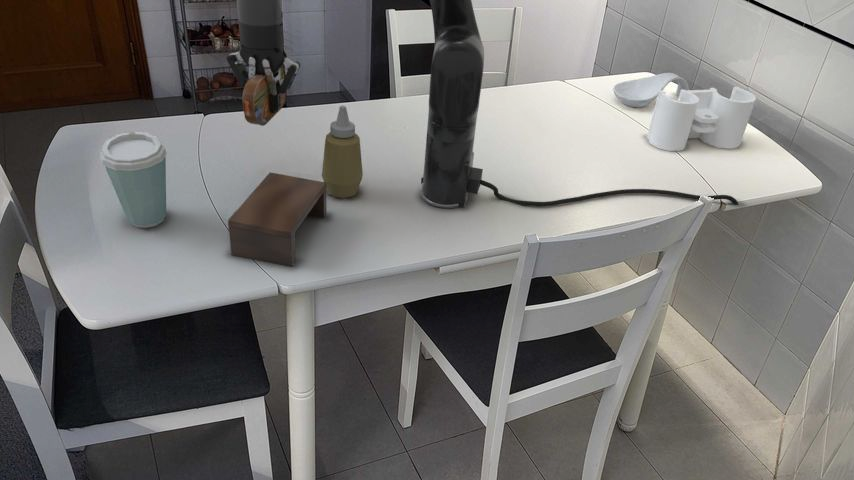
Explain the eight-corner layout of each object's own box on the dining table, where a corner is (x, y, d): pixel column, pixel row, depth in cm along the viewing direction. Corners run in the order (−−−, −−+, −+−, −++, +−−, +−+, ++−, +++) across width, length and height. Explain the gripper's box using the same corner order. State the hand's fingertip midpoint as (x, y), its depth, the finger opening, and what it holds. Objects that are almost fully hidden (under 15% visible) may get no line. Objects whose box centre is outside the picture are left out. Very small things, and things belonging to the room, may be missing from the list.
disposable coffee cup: (176, 232, 131) (164, 156, 122) (110, 237, 128) (93, 159, 119) (176, 202, 139) (165, 128, 130) (114, 206, 136) (99, 131, 127)
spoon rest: (628, 114, 194) (635, 88, 190) (602, 97, 202) (607, 71, 198) (696, 105, 204) (703, 80, 200) (668, 89, 212) (675, 64, 208)
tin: (257, 133, 133) (255, 88, 128) (241, 130, 133) (237, 85, 128) (289, 102, 145) (287, 60, 140) (273, 99, 145) (272, 57, 140)
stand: (326, 214, 141) (326, 182, 137) (292, 266, 126) (290, 232, 122) (271, 204, 142) (269, 172, 138) (231, 254, 127) (227, 220, 123)
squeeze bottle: (345, 206, 144) (346, 120, 133) (313, 192, 147) (311, 106, 136) (370, 190, 150) (373, 106, 139) (339, 177, 153) (339, 94, 142)
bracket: (662, 153, 177) (675, 105, 170) (641, 135, 184) (654, 89, 177) (748, 147, 184) (765, 101, 177) (725, 130, 192) (740, 86, 184)
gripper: (212, 17, 126) (222, 112, 136) (290, 29, 125) (294, 124, 135) (231, 5, 132) (240, 97, 142) (306, 16, 131) (309, 108, 141)
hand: (266, 110), depth 139 cm, fingers closed on tin, 2 cm apart
